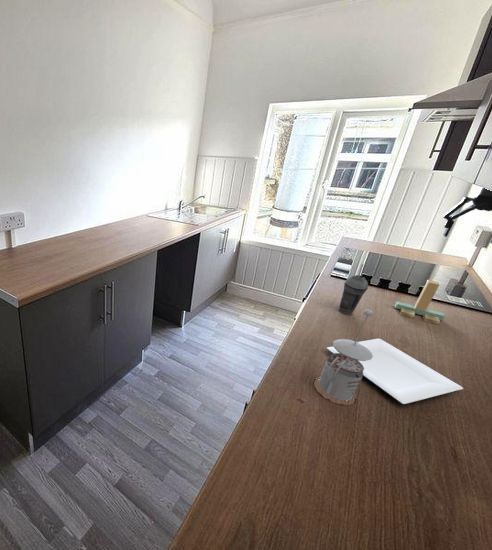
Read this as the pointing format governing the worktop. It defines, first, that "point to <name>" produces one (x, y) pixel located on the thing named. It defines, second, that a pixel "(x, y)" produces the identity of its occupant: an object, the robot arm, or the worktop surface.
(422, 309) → the wiper
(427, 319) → the crust
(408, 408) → the worktop surface
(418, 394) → the plate
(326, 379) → the french press
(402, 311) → the crust
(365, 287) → the beverage cup
